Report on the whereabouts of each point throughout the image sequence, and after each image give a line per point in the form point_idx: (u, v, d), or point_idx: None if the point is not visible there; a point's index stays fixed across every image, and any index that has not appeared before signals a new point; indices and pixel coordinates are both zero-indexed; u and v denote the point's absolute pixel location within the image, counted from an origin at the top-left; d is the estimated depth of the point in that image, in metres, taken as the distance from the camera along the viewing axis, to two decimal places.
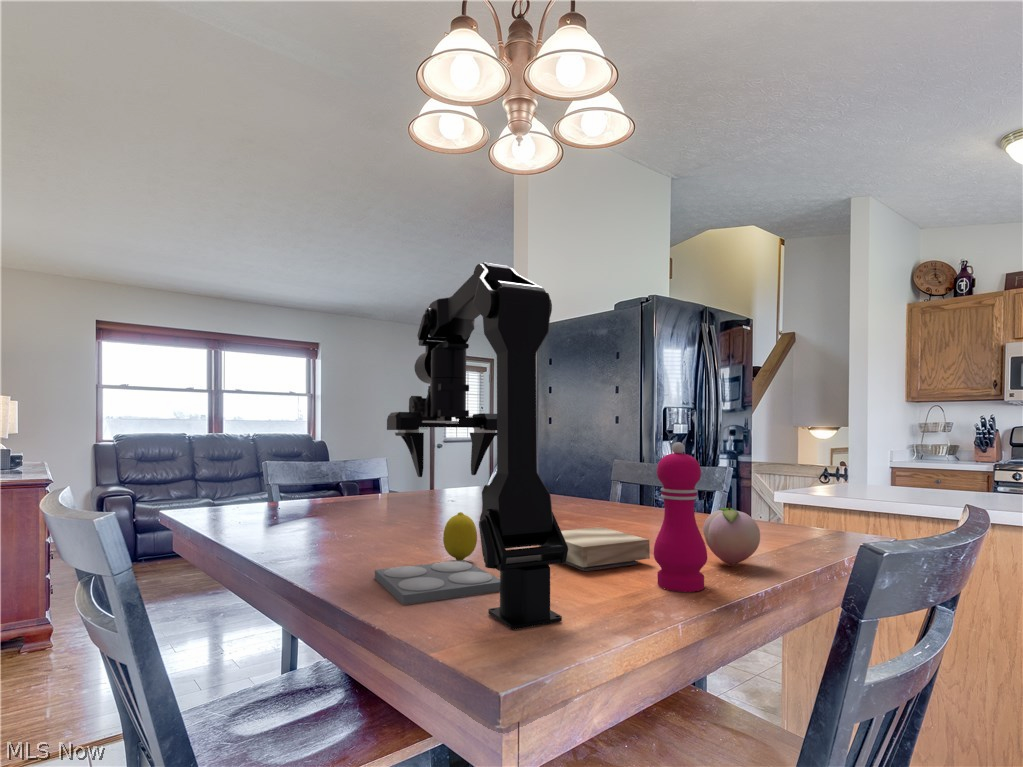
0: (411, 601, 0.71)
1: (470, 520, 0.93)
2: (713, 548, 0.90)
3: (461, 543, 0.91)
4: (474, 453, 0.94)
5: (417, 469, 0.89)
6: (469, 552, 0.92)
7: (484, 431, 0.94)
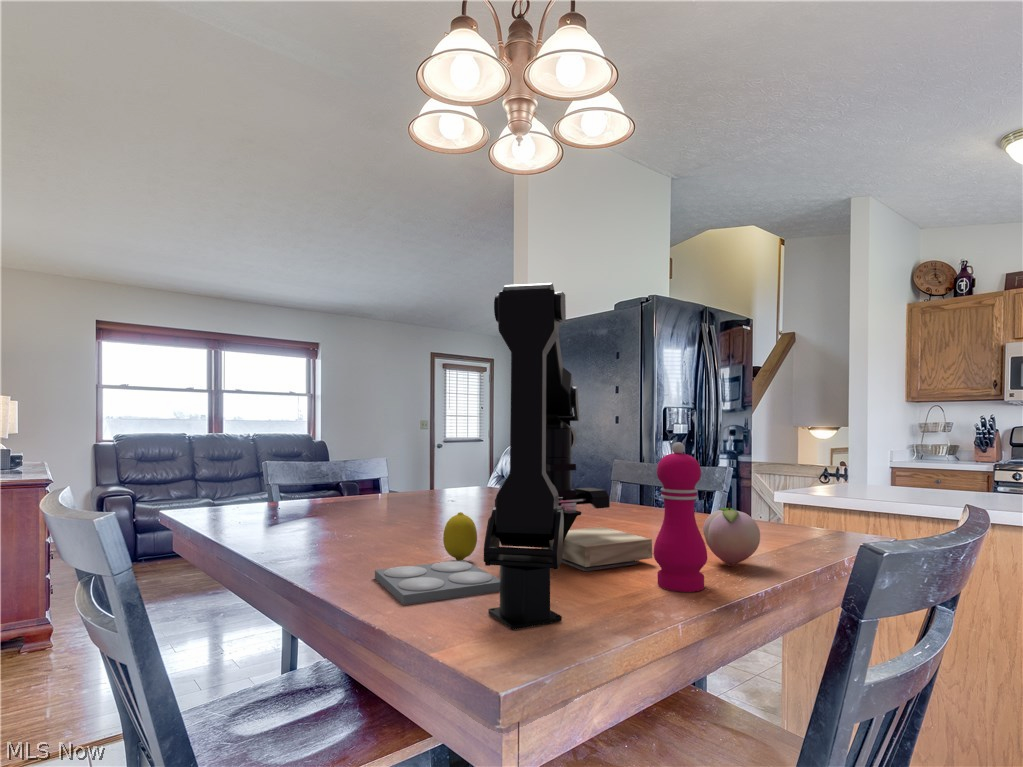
0: (411, 601, 0.71)
1: (470, 520, 0.93)
2: (713, 548, 0.90)
3: (461, 543, 0.91)
4: None
5: (550, 548, 0.91)
6: (469, 552, 0.92)
7: (566, 510, 0.91)
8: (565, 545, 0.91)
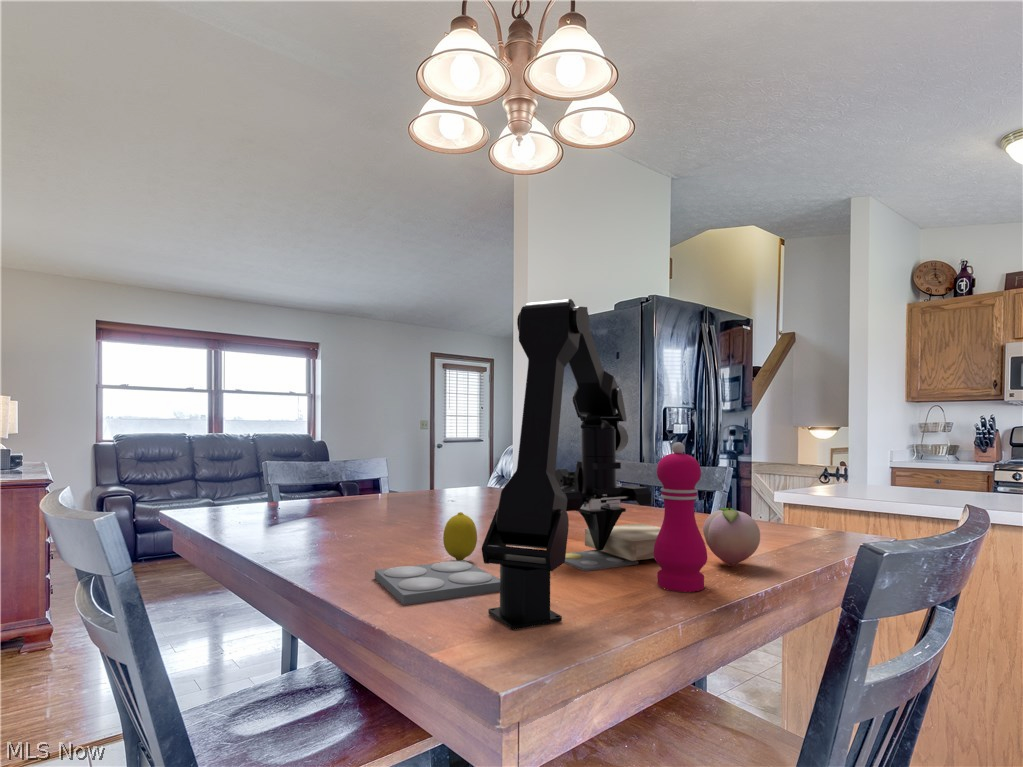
0: (411, 601, 0.71)
1: (470, 520, 0.93)
2: (713, 548, 0.90)
3: (461, 543, 0.91)
4: None
5: (596, 543, 0.95)
6: (469, 552, 0.92)
7: (611, 507, 0.95)
8: (610, 541, 0.95)
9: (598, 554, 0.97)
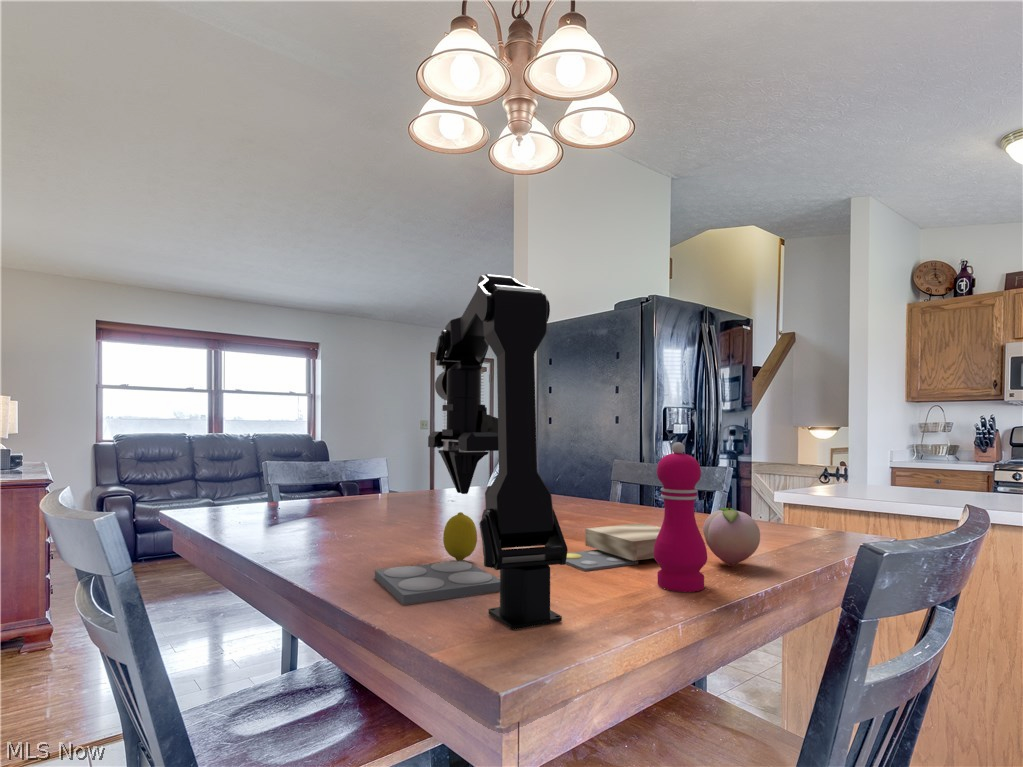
0: (411, 601, 0.71)
1: (470, 520, 0.93)
2: (713, 548, 0.90)
3: (461, 543, 0.91)
4: None
5: None
6: (469, 552, 0.92)
7: (459, 450, 0.92)
8: (611, 540, 0.95)
9: (598, 554, 0.97)
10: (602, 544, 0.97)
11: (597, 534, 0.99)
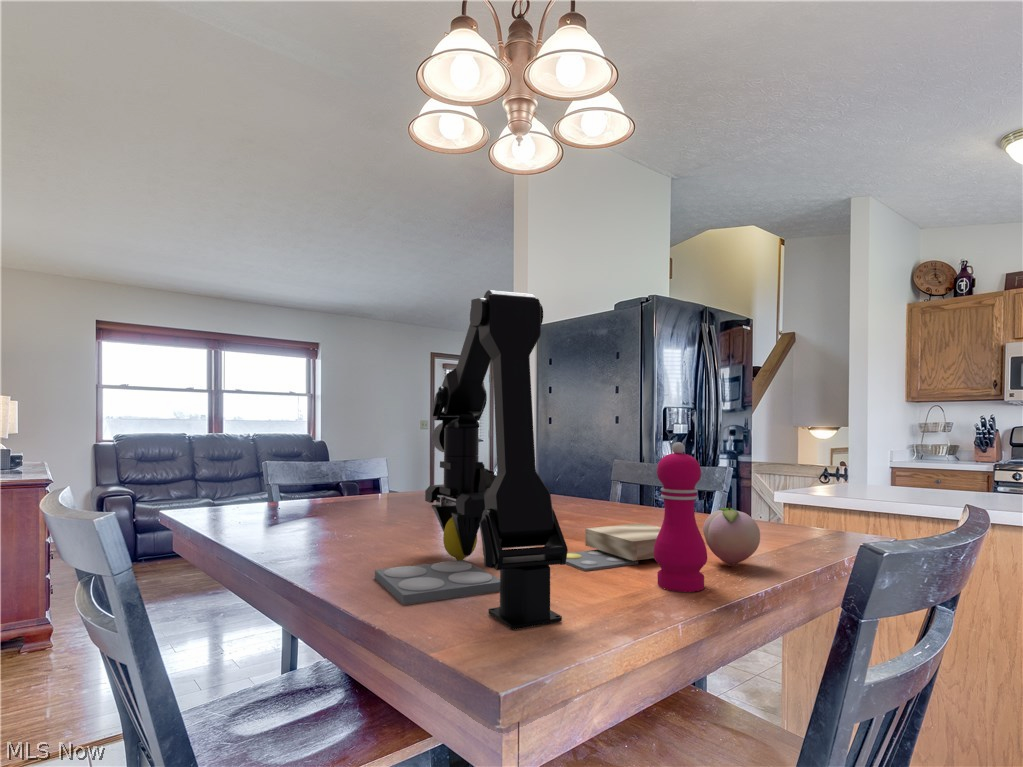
0: (411, 601, 0.71)
1: None
2: (713, 548, 0.90)
3: None
4: None
5: None
6: None
7: None
8: (611, 540, 0.95)
9: (598, 554, 0.97)
10: (602, 544, 0.97)
11: (597, 534, 0.99)
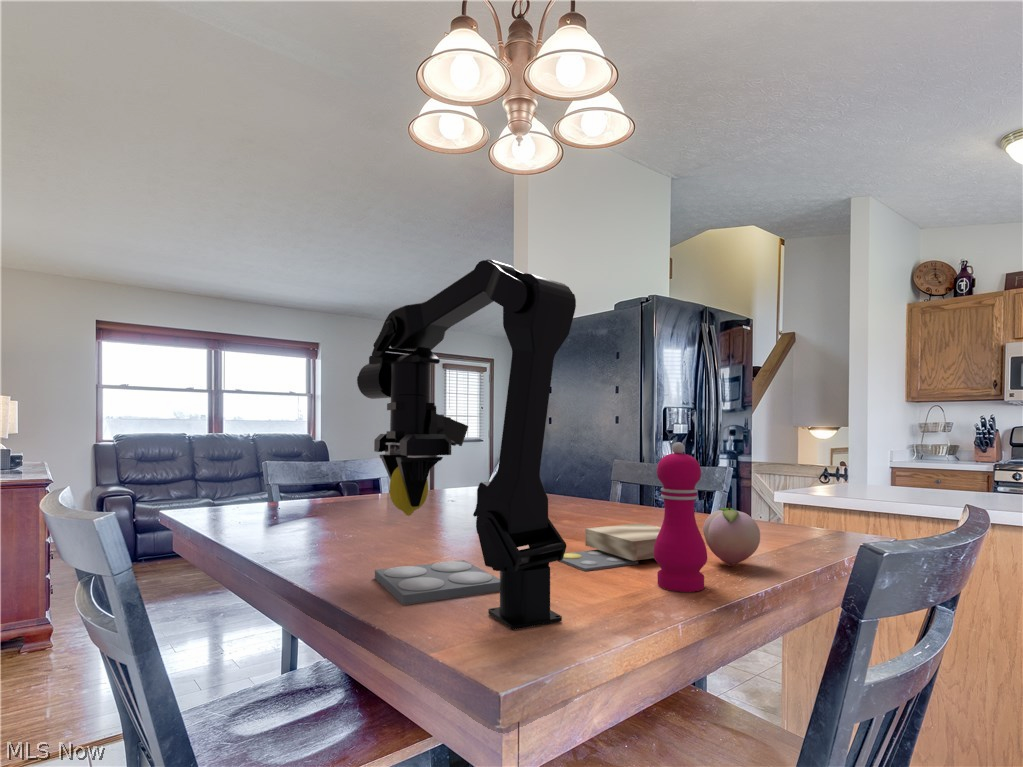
0: (411, 601, 0.71)
1: None
2: (713, 548, 0.90)
3: None
4: None
5: None
6: None
7: (407, 455, 0.79)
8: (611, 540, 0.95)
9: (598, 554, 0.97)
10: (602, 544, 0.97)
11: (597, 534, 0.99)
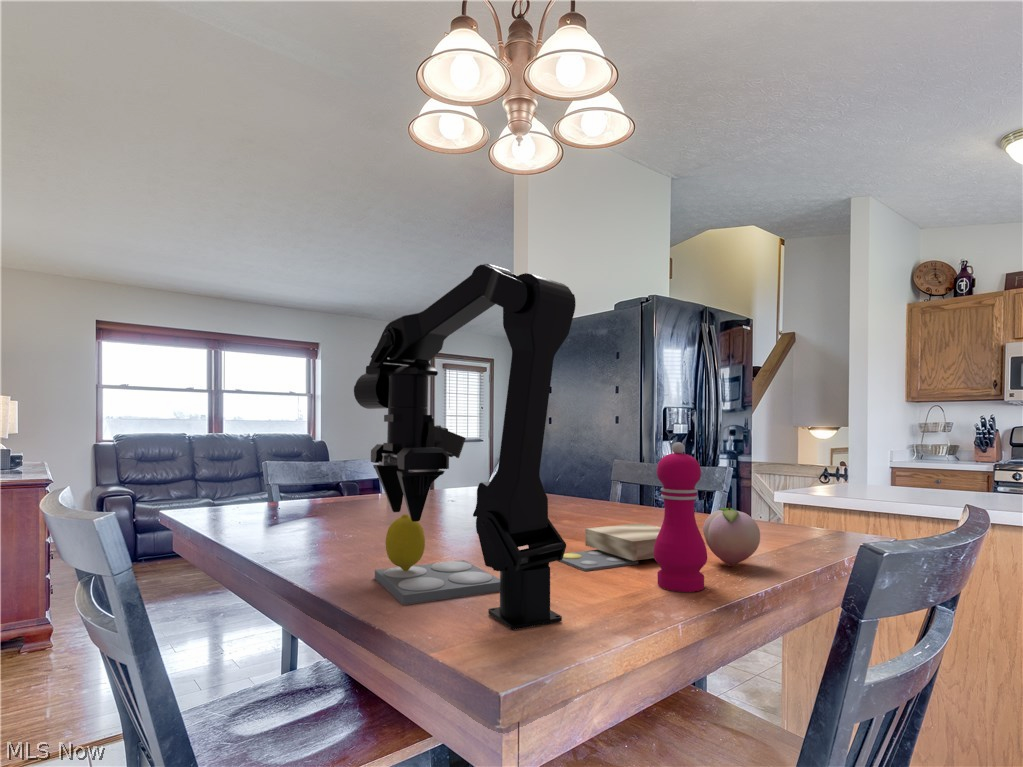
0: (411, 601, 0.71)
1: (416, 523, 0.81)
2: (713, 548, 0.90)
3: (404, 550, 0.79)
4: None
5: None
6: (415, 560, 0.80)
7: (408, 469, 0.77)
8: (611, 540, 0.95)
9: (598, 554, 0.97)
10: (602, 544, 0.97)
11: (597, 534, 0.99)
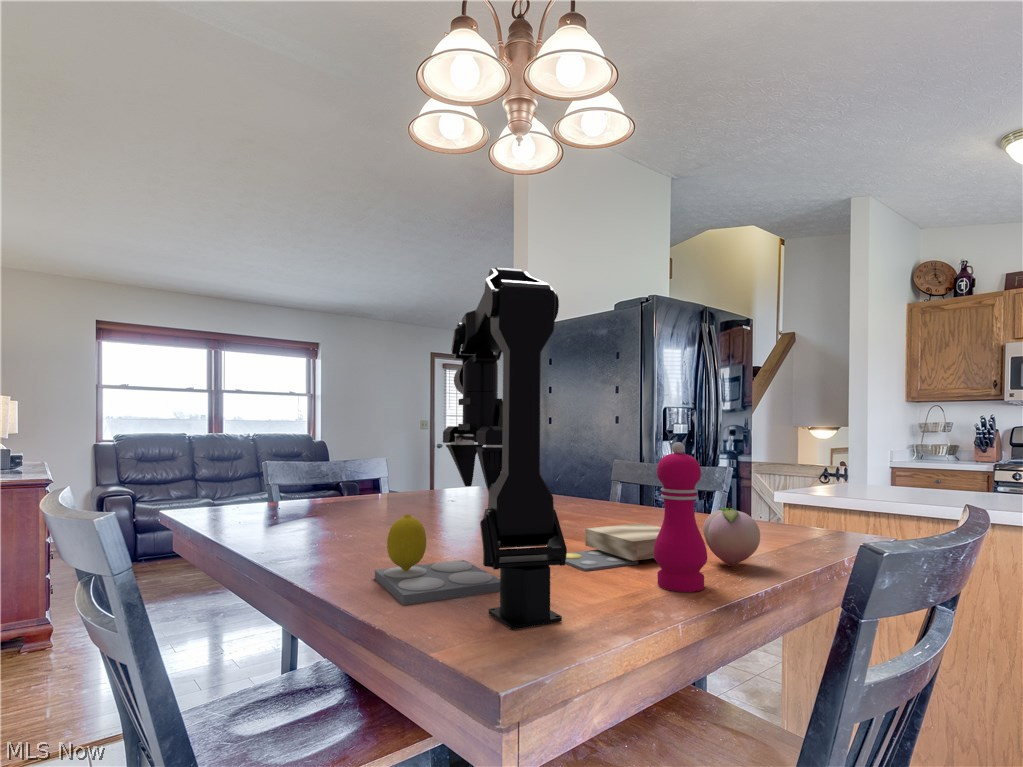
0: (411, 601, 0.71)
1: (418, 523, 0.81)
2: (713, 548, 0.90)
3: (405, 550, 0.79)
4: None
5: None
6: (415, 560, 0.80)
7: (486, 445, 0.87)
8: (611, 540, 0.95)
9: (598, 554, 0.97)
10: (602, 544, 0.97)
11: (597, 534, 0.99)
